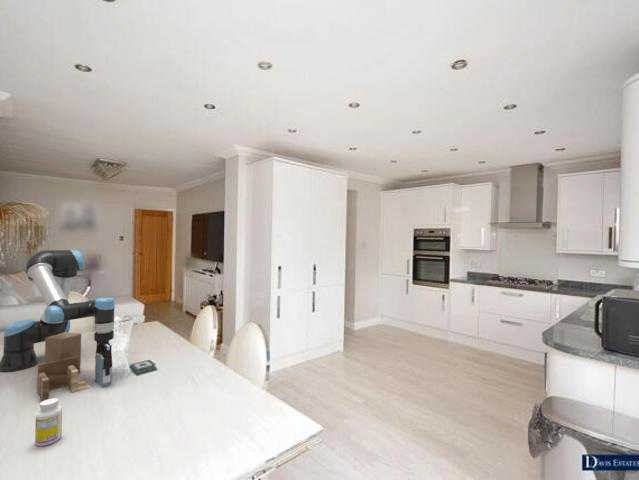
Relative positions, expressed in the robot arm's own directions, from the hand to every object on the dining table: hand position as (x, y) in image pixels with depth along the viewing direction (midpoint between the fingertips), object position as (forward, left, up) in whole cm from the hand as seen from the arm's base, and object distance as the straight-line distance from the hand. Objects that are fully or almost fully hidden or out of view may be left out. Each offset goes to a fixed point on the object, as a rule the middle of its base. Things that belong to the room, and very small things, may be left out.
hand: (103, 378), depth 147 cm
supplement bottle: (+38, -25, -2) cm, 45 cm away
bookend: (-3, -9, -2) cm, 10 cm away
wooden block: (-23, -11, -2) cm, 26 cm away
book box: (0, 0, -2) cm, 2 cm away
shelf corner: (-3, -15, -2) cm, 15 cm away
